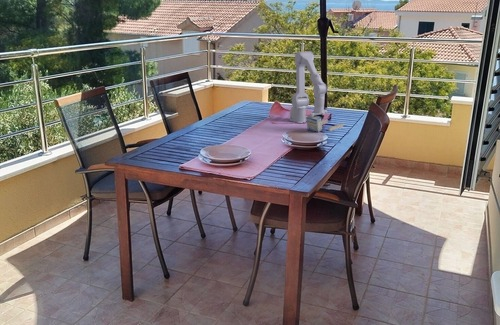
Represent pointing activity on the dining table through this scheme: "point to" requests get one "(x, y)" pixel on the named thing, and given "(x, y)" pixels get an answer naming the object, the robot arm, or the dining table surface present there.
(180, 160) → the dining table surface
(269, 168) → the dining table surface
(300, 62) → the robot arm
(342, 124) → the parallel bars
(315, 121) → the medicine box
